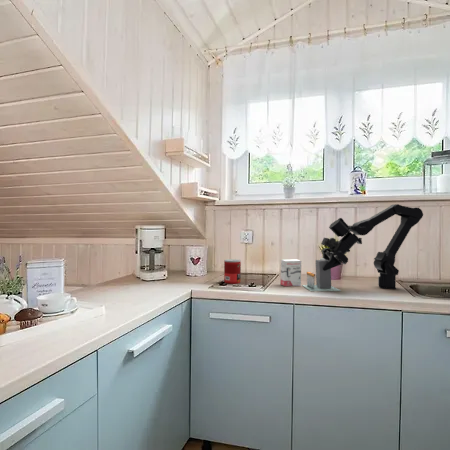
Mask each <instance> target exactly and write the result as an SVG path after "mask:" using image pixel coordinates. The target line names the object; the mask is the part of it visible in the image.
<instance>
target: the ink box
mask: <svg viewBox="0 0 450 450" xmlns="http://www.w3.org/2000/svg"><path fill="white" fill-rule="evenodd" d="M280 285H281V286H283V287H298V286H299V287H302V260H300V259H296V258H295V259H281V260H280Z"/></svg>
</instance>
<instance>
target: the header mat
mask: <svg viewBox="0 0 450 450" xmlns="http://www.w3.org/2000/svg"><path fill="white" fill-rule="evenodd" d="M301 287H303V288H304V289H306V290H307V291H310V292H341V289H339V288H337V287H334V286H332V285H331V288H324V289H320V288H318V287H317V286H316V284H314V289H311V288H309V287H307V284H301Z"/></svg>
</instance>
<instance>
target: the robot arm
mask: <svg viewBox="0 0 450 450" xmlns="http://www.w3.org/2000/svg"><path fill="white" fill-rule="evenodd" d="M395 215H396V216H399V217H400V224H399V226H398V227H397V229H396V231H395V232H394V234H393V236H392V238H391V239H390V241H389V243H388V244H387V246H386V248H385V249H384V250H383V251H378V252H377V254H376V256H375V257H374V258H373V265H374V268H376V271H377V273H379V275H378V277H377V278H378V279H377V280H378V281H377V282H378V283H377V285H378V287H379V288H380V289H390V290H391V289H393V290H397V286H396V284H397V283H396V280H397V278H396V276H398V275H399V272H400V271H399V269H398V268H397V267H396V266H395V262H396V256H397V253H398V251H399V249H401V246H402V245H403V242H404V241H405V239H406V238H407V236H408V234H409V233H410V231H411V229H412V228H413V227H414V226H415V225H417V224H418V223H419V222H420V221H421V220H422V218H423V217H424V213H423V210H422V209H421V208H419V207H410V206H405V205H402V204H398V203H396V204H390V206H388V207H387V208H385V209H383V210H382V211H379V212H378V213H376V214H374V215H373V216H371V217H369V218H367V219H362V220H360V221H357V222H354V223H353V224H352V225H348V223H346V222H345V220H344V219H343V218H342V217H339V218H338V219H337V220H335V221H334V222H333V221H332V223H330V225H329V226H328V228H329V230H331V231H332V232H333V234H335V236H336V237H338V238H339V237H341V238H340V239H339V240H337V239H336V238H334V237H329V238H328V237H323V239H322V241H321V243H320V244H321V245H322V246H325V248H322V249H321V250H320V252H321V254H322V258H324V259H326V260H329V261H328V262H327V264H326V265H325V266H324V268H323V270H324V271H326V270H328V269H331V270H332V269H333V268H336V267H338V266H341V265H346V264H347V263H349V258H348V257H347V255H345V254H347V253H350V252H351V249H352V248H353V246H354V245H355V244H356V243H357V245H362V244H363V240H362V239H363V238H362V237H359V236H366V235H368V234H369V233H371V232H372V231H373V229H374V228H375V227H377V226H378V225H379V224H381V223H383V222H384V221H386V220H388V219H390V218H392V217H394V216H395ZM327 247H328V248H327Z"/></svg>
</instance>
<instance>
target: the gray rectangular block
mask: <svg viewBox="0 0 450 450" xmlns="http://www.w3.org/2000/svg"><path fill="white" fill-rule="evenodd" d="M328 261H329V260H326V259H324V258H323V257H320V258H319V259H315V279H316V280H315V281H316V283H315V285H316V286H317V287H318V288H320V289H324V288H331V286H332V271H331V270H332V268H331V269H328V270H326V271H324V270H323V268H324V266H325V265H326V264H327V262H328Z"/></svg>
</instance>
